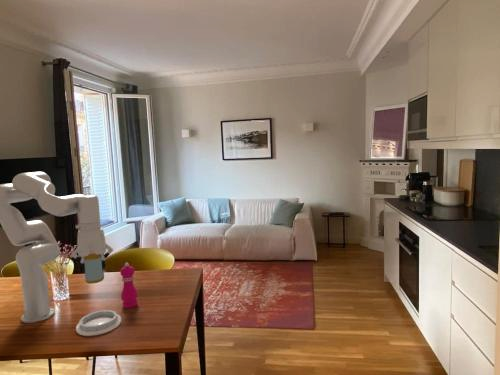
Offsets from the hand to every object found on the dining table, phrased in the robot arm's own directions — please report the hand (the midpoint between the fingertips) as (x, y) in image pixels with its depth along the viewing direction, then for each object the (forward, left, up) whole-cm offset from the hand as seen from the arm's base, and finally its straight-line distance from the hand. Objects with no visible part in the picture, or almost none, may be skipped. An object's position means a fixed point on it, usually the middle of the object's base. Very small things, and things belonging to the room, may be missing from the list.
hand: (94, 270), depth 141 cm
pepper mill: (-3, +19, -23) cm, 30 cm away
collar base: (0, 0, -23) cm, 23 cm away
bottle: (0, 0, -5) cm, 5 cm away
